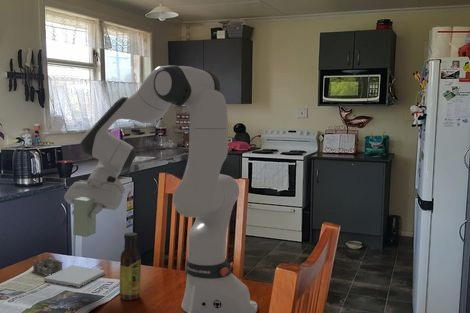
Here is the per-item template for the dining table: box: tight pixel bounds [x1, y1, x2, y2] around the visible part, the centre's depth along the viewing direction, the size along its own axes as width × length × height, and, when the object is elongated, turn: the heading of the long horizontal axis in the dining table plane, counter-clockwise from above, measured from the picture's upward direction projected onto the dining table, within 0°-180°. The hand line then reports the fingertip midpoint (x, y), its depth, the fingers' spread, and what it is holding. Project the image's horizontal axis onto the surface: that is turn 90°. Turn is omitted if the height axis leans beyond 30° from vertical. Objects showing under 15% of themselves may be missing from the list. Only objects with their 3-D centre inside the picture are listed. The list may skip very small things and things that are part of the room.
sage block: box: [73, 197, 97, 238], centre depth 153 cm, size 5×5×12 cm
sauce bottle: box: [119, 232, 142, 301], centre depth 141 cm, size 6×6×20 cm
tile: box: [43, 264, 106, 288], centre depth 157 cm, size 14×14×1 cm
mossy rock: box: [31, 257, 64, 275], centre depth 164 cm, size 11×8×4 cm
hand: (82, 215), depth 152 cm, fingers closed on sage block, 5 cm apart
